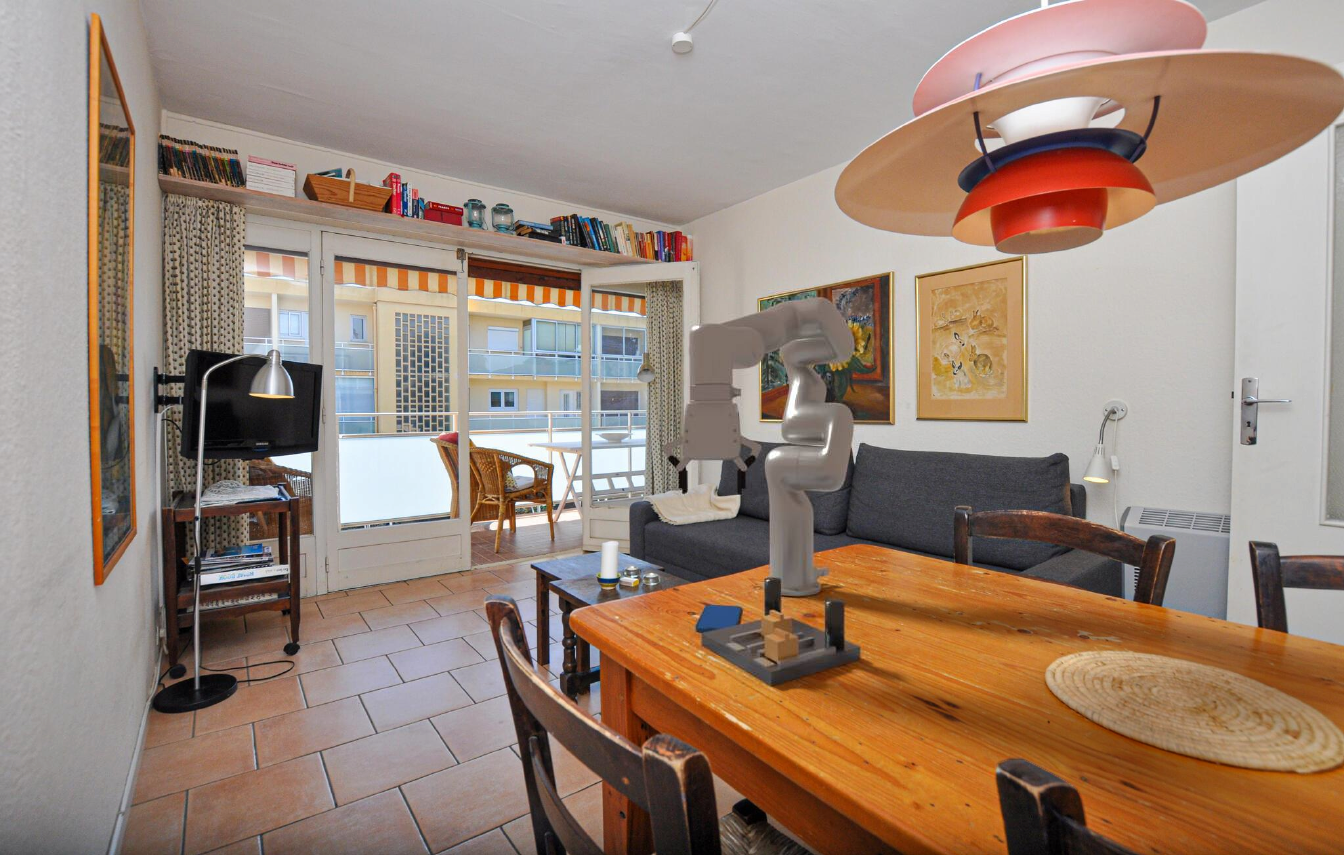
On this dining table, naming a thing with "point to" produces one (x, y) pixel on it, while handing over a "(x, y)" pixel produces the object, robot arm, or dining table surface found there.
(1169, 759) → the dining table surface
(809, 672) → the grey slotted fixture
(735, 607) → the smartphone
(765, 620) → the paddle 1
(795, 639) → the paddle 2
